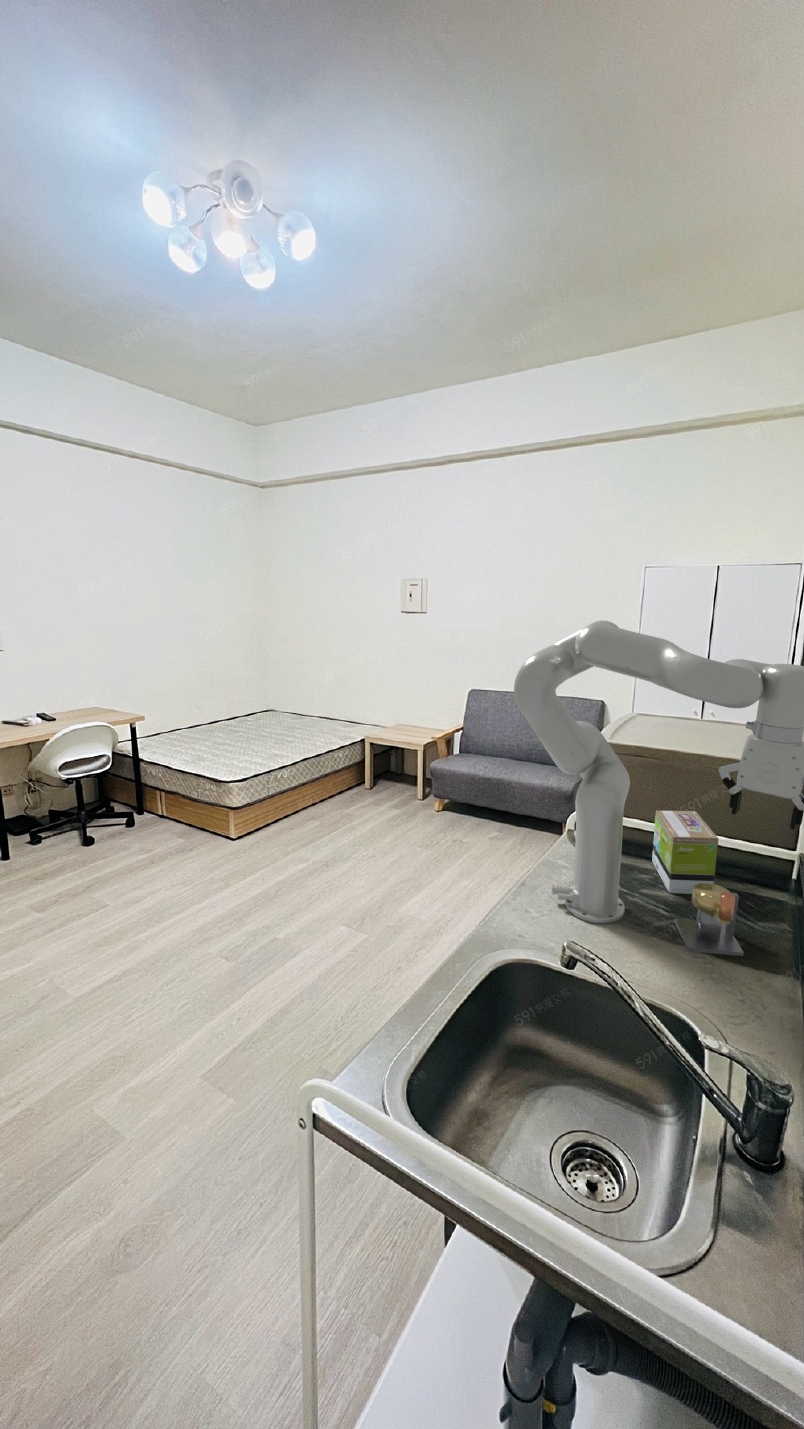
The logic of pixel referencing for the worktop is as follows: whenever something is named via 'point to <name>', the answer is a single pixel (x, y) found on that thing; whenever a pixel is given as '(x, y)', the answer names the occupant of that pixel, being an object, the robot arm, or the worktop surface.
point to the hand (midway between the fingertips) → (763, 819)
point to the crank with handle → (714, 901)
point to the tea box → (683, 850)
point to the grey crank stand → (710, 933)
